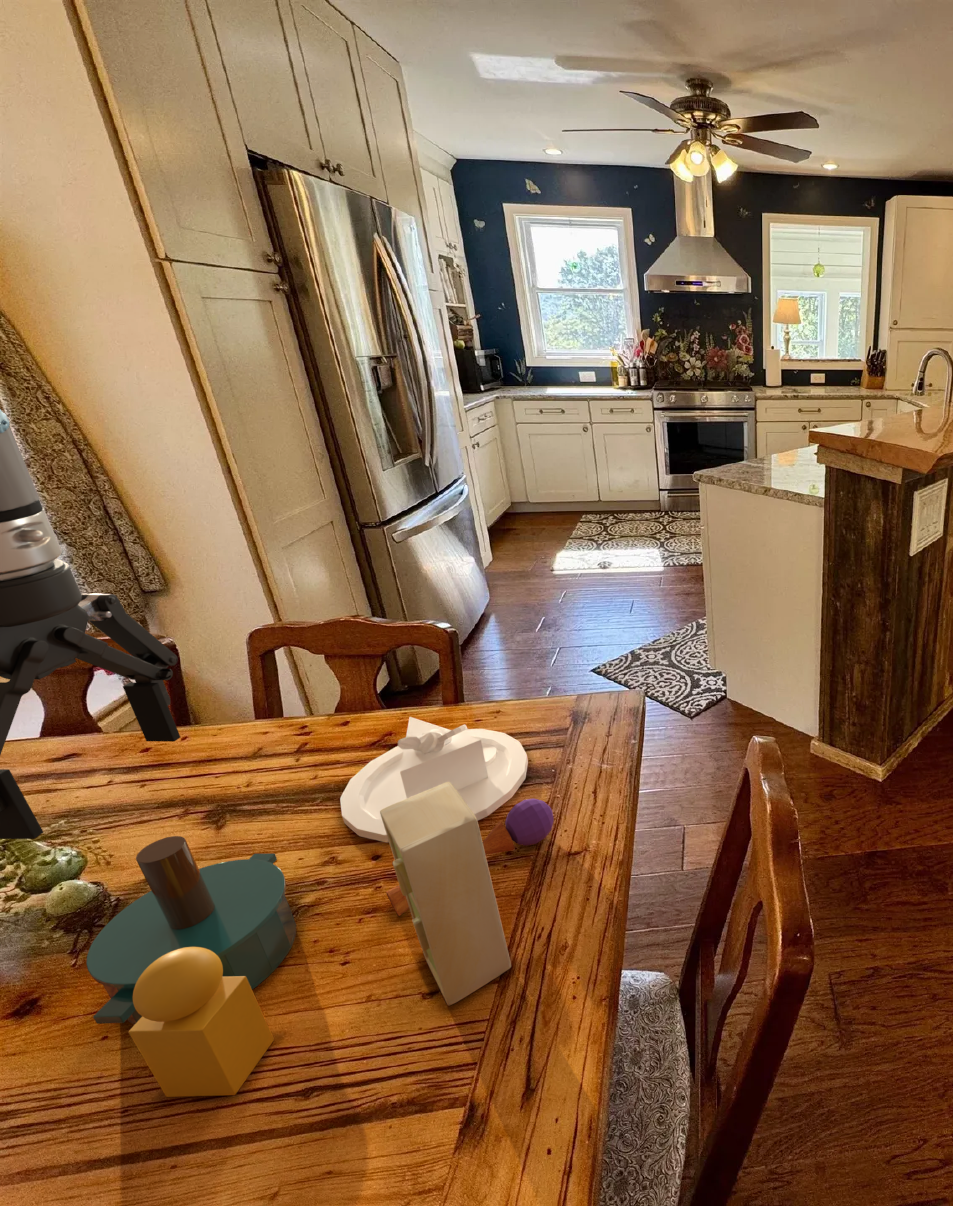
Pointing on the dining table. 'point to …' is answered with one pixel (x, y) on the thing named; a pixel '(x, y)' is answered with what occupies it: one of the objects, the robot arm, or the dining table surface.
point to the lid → (184, 911)
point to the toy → (197, 1024)
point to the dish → (435, 773)
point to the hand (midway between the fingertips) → (100, 782)
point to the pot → (225, 960)
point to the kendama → (503, 837)
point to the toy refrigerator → (447, 889)
